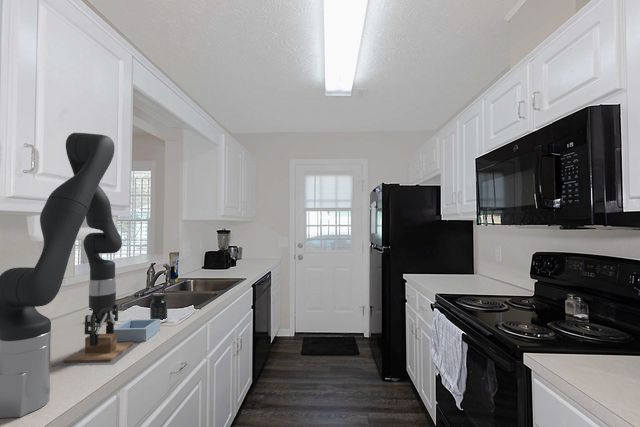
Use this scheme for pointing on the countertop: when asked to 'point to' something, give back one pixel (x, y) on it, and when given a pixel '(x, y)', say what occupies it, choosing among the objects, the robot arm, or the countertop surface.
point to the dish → (137, 330)
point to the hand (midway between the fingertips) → (102, 340)
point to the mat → (98, 362)
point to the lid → (100, 350)
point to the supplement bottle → (158, 307)
